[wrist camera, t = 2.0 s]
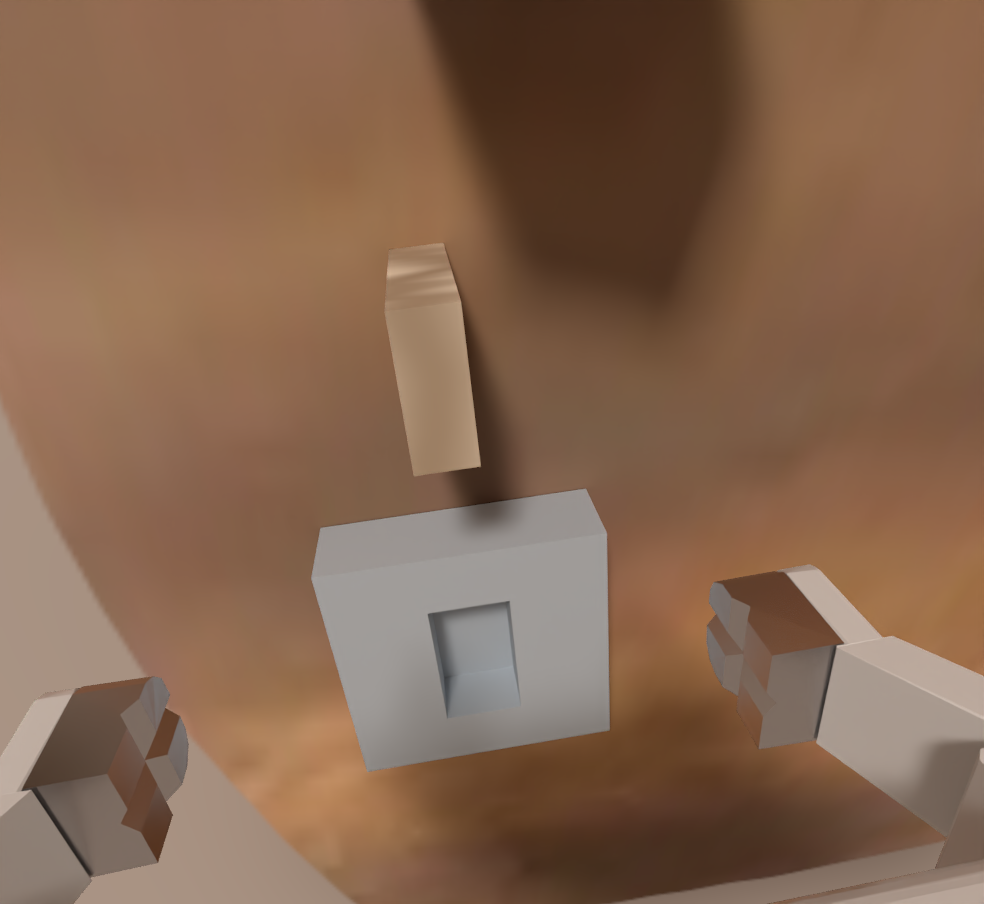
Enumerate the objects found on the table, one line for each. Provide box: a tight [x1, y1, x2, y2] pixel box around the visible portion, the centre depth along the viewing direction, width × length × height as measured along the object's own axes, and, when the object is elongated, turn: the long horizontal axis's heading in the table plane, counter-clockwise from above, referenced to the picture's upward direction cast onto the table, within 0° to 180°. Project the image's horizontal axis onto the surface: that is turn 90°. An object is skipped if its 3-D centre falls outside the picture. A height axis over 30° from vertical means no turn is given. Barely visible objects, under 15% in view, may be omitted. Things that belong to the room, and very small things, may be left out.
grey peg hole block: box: [311, 489, 610, 772], centre depth 31 cm, size 12×12×4 cm
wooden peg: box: [385, 243, 481, 476], centre depth 22 cm, size 2×5×8 cm, turn 6°
